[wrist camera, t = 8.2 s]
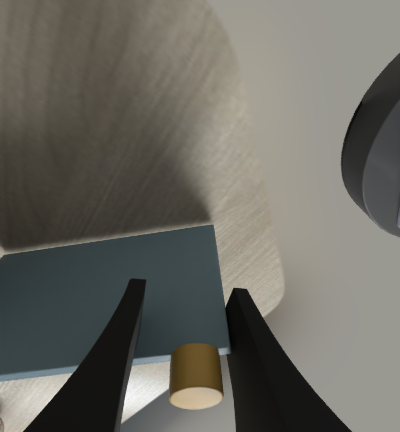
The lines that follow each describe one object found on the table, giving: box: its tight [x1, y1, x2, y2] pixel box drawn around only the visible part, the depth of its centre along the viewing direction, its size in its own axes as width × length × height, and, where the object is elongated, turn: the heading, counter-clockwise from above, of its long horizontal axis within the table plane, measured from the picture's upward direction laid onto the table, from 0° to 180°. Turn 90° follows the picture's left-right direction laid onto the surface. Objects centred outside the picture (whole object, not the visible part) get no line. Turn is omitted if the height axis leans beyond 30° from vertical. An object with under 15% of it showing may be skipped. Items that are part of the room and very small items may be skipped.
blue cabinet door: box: [0, 225, 232, 409], centre depth 14 cm, size 2×14×10 cm, turn 99°
